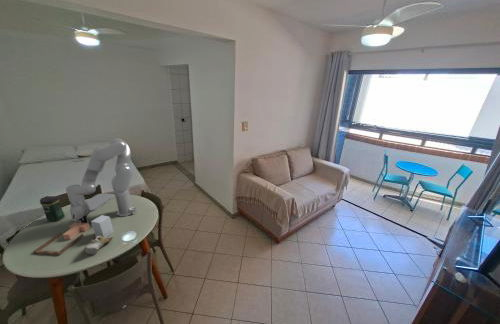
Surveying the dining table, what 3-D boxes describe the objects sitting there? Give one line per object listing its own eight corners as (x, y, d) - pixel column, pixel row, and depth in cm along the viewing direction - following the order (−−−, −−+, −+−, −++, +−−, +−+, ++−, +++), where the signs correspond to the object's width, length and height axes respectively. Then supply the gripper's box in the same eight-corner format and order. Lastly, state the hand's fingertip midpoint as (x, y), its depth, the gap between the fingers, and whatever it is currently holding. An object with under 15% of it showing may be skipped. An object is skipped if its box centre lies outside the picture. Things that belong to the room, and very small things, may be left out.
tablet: (73, 211, 154) (72, 209, 153) (99, 195, 178) (99, 193, 177) (92, 212, 153) (92, 210, 152) (116, 196, 177) (115, 194, 176)
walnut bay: (83, 236, 128) (83, 234, 127) (59, 255, 113) (58, 253, 112) (60, 234, 129) (60, 232, 128) (33, 253, 114) (32, 251, 113)
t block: (90, 227, 136) (88, 222, 134) (75, 239, 124) (73, 234, 123) (76, 227, 136) (74, 222, 135) (60, 239, 125) (58, 234, 123)
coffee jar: (67, 216, 148) (59, 195, 141) (56, 222, 140) (48, 200, 134) (56, 214, 148) (48, 194, 142) (45, 221, 141) (36, 199, 135)
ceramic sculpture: (75, 245, 109) (95, 229, 123) (79, 257, 111) (98, 240, 126) (95, 245, 109) (112, 229, 124) (97, 257, 112) (114, 240, 126)
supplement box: (114, 232, 132) (110, 216, 128) (104, 239, 125) (99, 223, 121) (106, 229, 134) (101, 214, 130) (95, 237, 127) (90, 221, 123)
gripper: (82, 196, 138) (89, 217, 145) (61, 207, 124) (70, 230, 131) (92, 196, 138) (98, 218, 144) (72, 208, 124) (80, 231, 130)
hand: (84, 224), depth 137 cm, fingers closed
